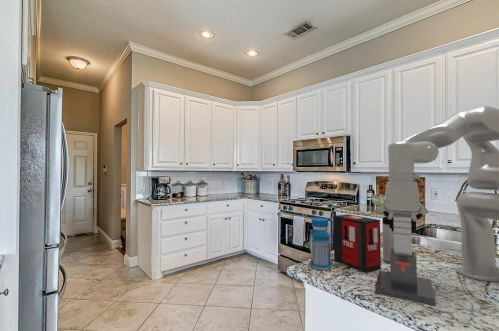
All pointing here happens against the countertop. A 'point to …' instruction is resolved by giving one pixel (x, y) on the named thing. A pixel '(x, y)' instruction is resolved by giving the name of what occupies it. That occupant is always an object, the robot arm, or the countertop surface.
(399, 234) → the post
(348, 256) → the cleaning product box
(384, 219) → the travel mug
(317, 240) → the beverage bottle
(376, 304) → the countertop surface
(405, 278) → the stand
